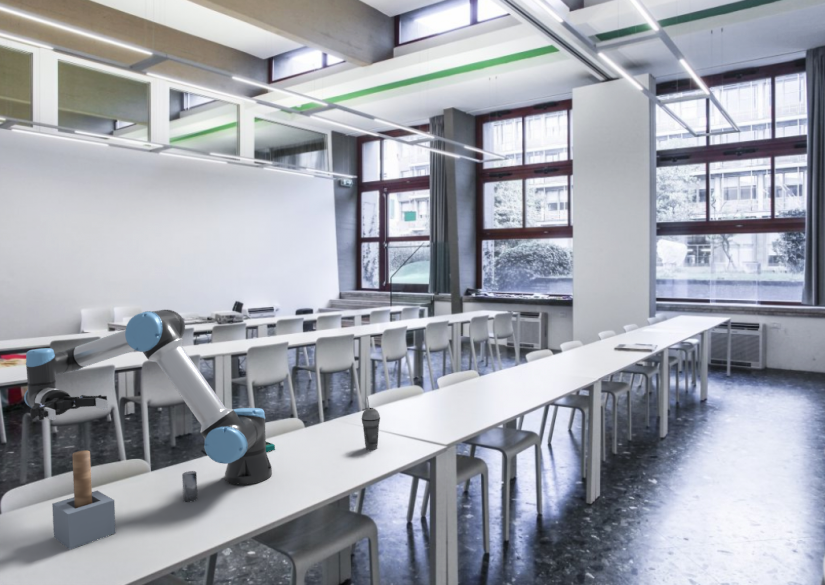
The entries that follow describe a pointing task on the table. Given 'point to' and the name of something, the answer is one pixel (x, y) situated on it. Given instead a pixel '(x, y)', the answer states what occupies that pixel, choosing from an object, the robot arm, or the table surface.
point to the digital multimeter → (269, 446)
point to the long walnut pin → (82, 478)
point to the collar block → (83, 520)
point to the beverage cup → (371, 427)
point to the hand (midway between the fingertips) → (81, 409)
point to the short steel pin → (189, 486)
